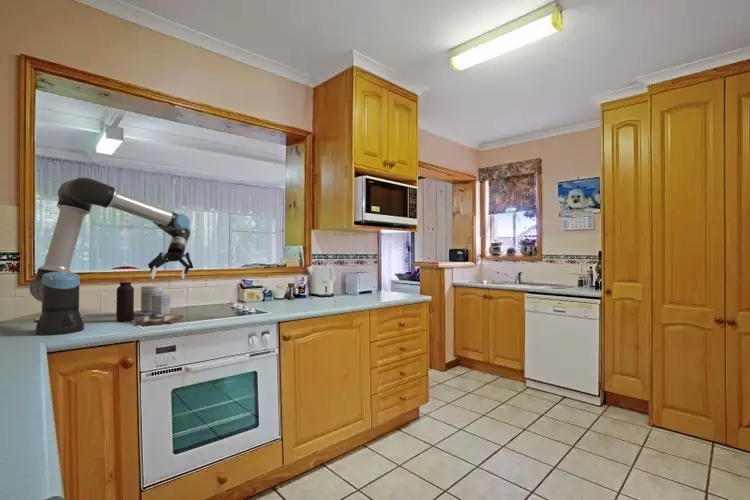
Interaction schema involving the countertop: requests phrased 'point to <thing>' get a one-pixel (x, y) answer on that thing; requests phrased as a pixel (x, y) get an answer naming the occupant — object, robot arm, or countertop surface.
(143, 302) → the supplement tub
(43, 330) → the robot arm
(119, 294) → the bottle
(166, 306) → the medicine box
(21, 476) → the countertop surface
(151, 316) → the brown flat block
